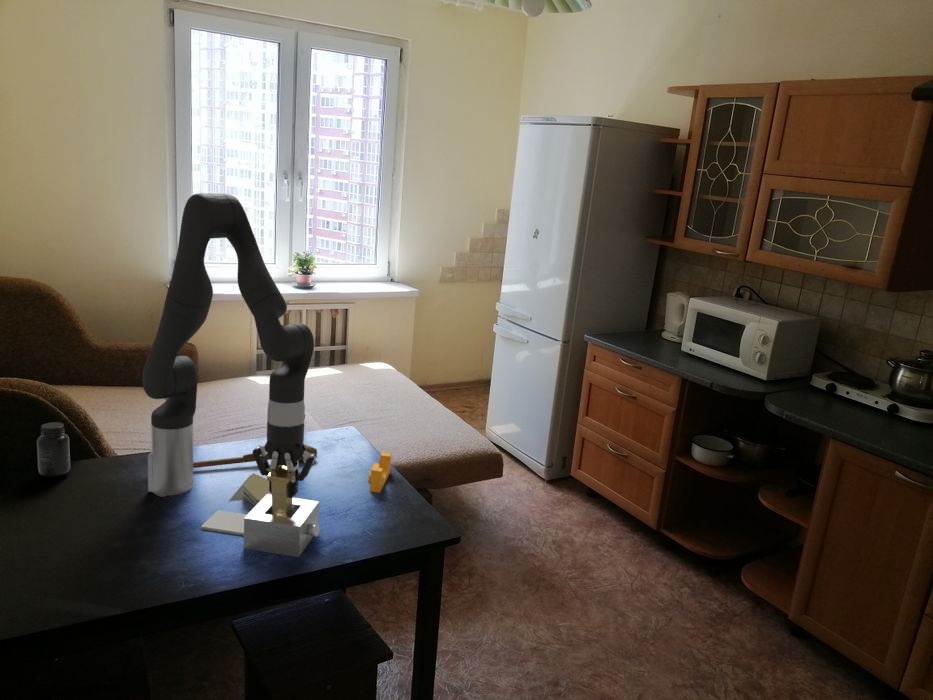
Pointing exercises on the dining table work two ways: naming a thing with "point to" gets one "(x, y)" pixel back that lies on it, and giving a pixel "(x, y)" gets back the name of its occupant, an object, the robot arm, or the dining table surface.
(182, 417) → the robot arm
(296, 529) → the block
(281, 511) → the capped wooden post
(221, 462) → the panzerfaust rocket launcher
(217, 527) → the mat
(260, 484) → the stacked layers on plate
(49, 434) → the supplement bottle
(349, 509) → the dining table surface
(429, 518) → the dining table surface
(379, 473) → the pipe clamp
